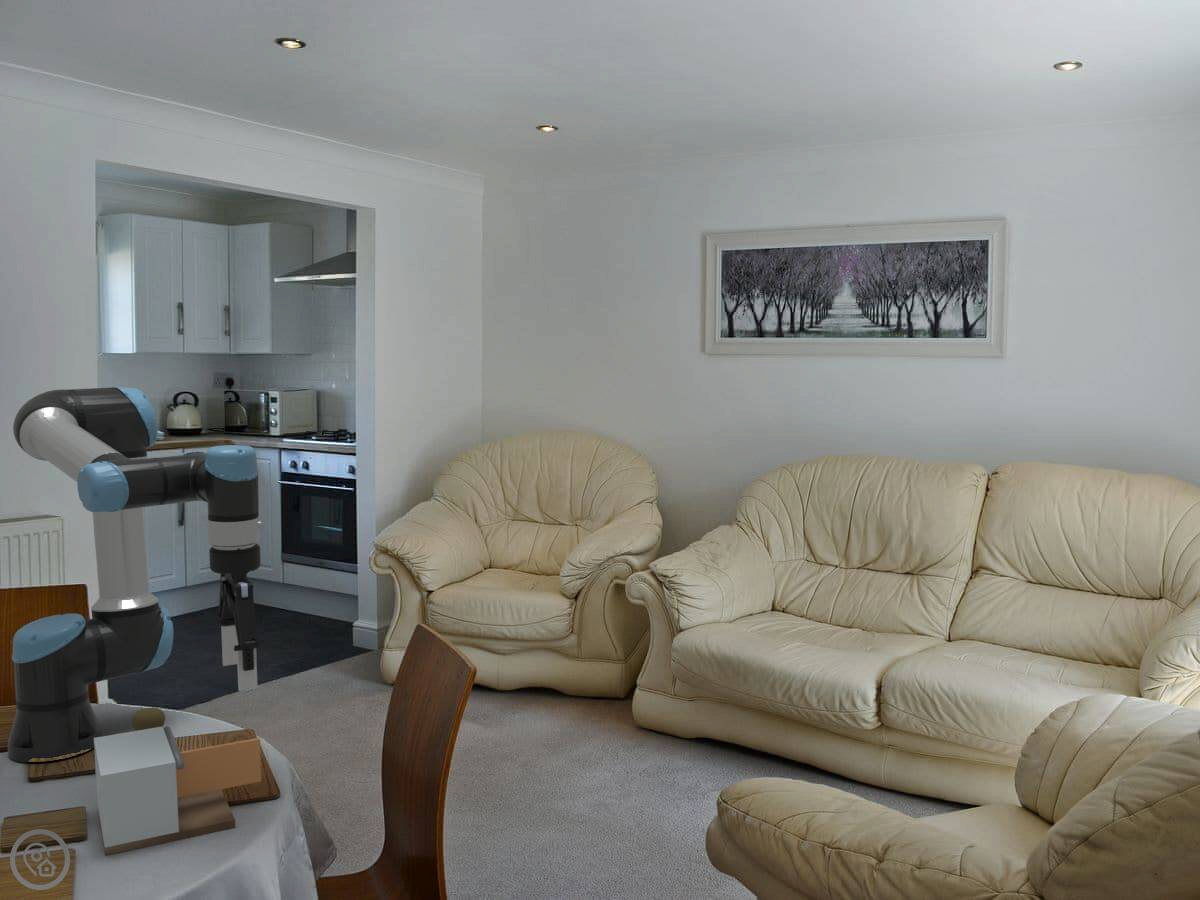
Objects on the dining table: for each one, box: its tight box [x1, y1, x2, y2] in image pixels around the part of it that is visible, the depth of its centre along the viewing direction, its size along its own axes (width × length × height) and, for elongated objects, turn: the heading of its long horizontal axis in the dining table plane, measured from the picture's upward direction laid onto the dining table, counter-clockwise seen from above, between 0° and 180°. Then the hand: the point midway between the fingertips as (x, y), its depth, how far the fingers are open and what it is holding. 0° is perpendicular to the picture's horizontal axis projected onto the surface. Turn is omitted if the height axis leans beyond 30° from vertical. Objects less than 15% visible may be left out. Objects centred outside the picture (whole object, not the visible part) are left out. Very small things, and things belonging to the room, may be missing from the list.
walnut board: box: [96, 789, 236, 856], centre depth 163 cm, size 16×18×1 cm
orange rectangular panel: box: [176, 737, 262, 798], centre depth 165 cm, size 1×16×7 cm, turn 118°
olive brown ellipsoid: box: [131, 707, 166, 731], centre depth 180 cm, size 6×6×11 cm
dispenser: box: [93, 725, 184, 847], centre depth 161 cm, size 16×11×11 cm
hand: (239, 676), depth 167 cm, fingers open, 13 cm apart
